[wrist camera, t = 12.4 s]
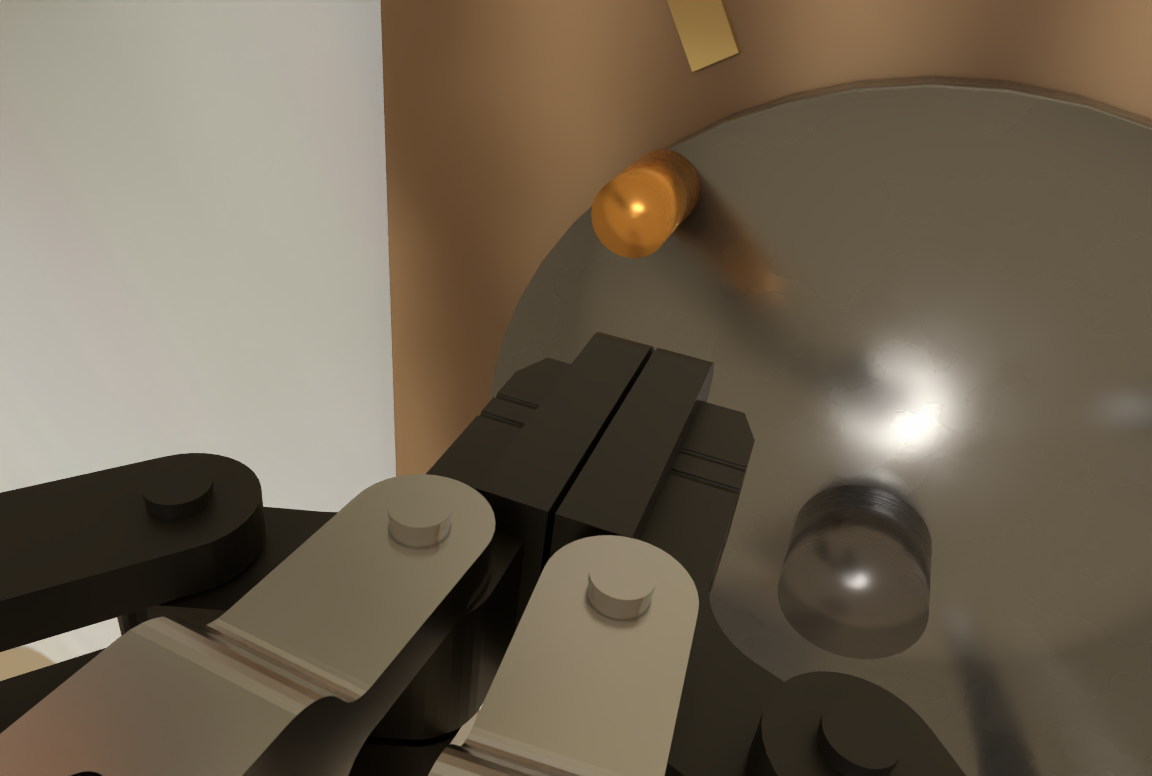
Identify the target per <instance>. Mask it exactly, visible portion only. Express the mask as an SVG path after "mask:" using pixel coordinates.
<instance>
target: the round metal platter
mask: <svg viewBox="0 0 1152 776" xmlns="http://www.w3.org/2000/svg"><path fill="white" fill-rule="evenodd" d="M597 332H602V333H605V334H609V335H613V336H616V337H620V338H624V339H627V340H631V341H635V342H638V343H642V344H646V345H650V346H653V347H654V350H655V349H656V348H661V349H665V350H669V351H672V352H676V353H680V354H684V355H687V356H691V357H695V358H698V359H702V360H706V361H709V362H713V363H714V364H715V366H714V373H713V378H712V383H711V387H710V392H709V396H708V400H707V402H708V403H711V404H715V405H718V406H722V407H726V408H729V409H733V410H736V411H740V412H743V413H745V415H746V418H747V420H748V423H749V426H750V429H751V431H752V434H753V437H754V440H755V442H754V445H753V449H752V453H751V456H750V460H749V463H748V467H747V471H746V474H745V478H744V481H743V485H742V489H741V492H740V496H739V499H738V503H737V507H736V510H735V514H734V517H733V521H732V525H731V528H730V532H729V535H728V539H727V542H726V545H725V548H724V552H723V555H722V558H721V561H720V564H719V567H718V571H717V574H716V577H715V581H714V584H713V587H712V590H711V593H710V597H709V599H710V604H711V608H712V611H713V614H714V616H715V618H716V621H717V623H718V624H719V626H720V627H721V629H722V631H723V632H724V634H725V635H726V636H727V637H728V638H729V640H730V641H731V642H732V643H733V644H734V645H735V646H736V647H737V648H738V649H739V650H740V651H741V652H742V653H743V654H745V655H746V656H747V657H749V658H750V659H751V660H753V661H754V662H755V663H757V664H758V665H760V666H761V667H763V668H764V669H766V670H767V671H769V672H770V673H772V674H773V675H775V676H776V677H778V678H779V679H781V680H782V681H784V682H785V681H787V680H788V679H790V678H792V677H794V676H797V675H801V674H804V673H809V672H817V671H827V672H838V673H844V674H849V675H852V676H856V677H859V678H862V679H865V680H867V681H869V682H872V683H874V684H876V685H879V686H880V687H882V688H884V689H886V690H887V691H889V692H891V693H892V694H894V695H895V696H897V697H898V698H899V699H901V700H902V701H904V702H905V703H906V704H907V705H909V706H910V707H911V708H912V709H913V710H914V711H915V712H916V713H917V714H918V715H919V716H920V717H921V718H922V719H923V720H924V721H925V723H926V724H927V725H928V726H929V727H930V728H931V730H932V731H933V732H934V734H935V735H936V736H937V738H938V739H939V740H940V742H941V743H942V744H943V746H944V747H945V748H946V750H947V751H948V752H949V753H950V755H951V756H952V757H953V759H954V760H955V761H956V763H957V764H958V765H959V767H960V768H961V769H962V771H963V772H964V773H965V775H966V776H1152V119H1150V118H1147V117H1144V116H1141V115H1138V114H1135V113H1132V112H1129V111H1126V110H1123V109H1120V108H1117V107H1114V106H1111V105H1108V104H1106V103H1103V102H1100V101H1097V100H1094V99H1091V98H1088V97H1085V96H1082V95H1078V94H1073V93H1067V92H1062V91H1057V90H1052V89H1047V88H1042V87H1037V86H1032V85H1027V84H1022V83H1017V82H1011V81H1006V80H991V79H976V78H960V77H944V76H919V77H904V78H888V79H873V80H859V81H854V82H849V83H844V84H839V85H833V86H828V87H823V88H818V89H813V90H808V91H803V92H798V93H793V94H790V95H787V96H784V97H781V98H778V99H775V100H772V101H769V102H766V103H763V104H760V105H757V106H754V107H751V108H748V109H745V110H742V111H739V112H736V113H733V114H731V115H729V116H727V117H725V118H723V119H721V120H718V121H716V122H714V123H712V124H710V125H708V126H706V127H704V128H702V129H700V130H698V131H696V132H694V133H692V134H690V135H688V136H686V137H684V138H682V139H680V140H678V141H676V142H675V143H673V144H672V145H671V146H669V147H668V148H666V149H657V150H653V151H650V152H648V153H646V154H644V155H643V156H641V157H640V158H639V159H638V160H636V161H635V162H634V163H632V164H631V165H630V166H629V167H627V168H626V169H625V170H624V171H622V172H621V173H620V174H619V175H617V176H616V177H615V178H613V179H612V180H611V181H610V182H608V183H607V184H606V185H605V186H604V187H602V188H601V190H600V191H599V192H598V193H597V195H596V197H595V199H594V201H593V205H592V206H591V207H590V208H589V209H588V210H587V211H586V212H585V213H584V214H583V215H581V216H580V217H579V218H578V219H577V220H576V221H575V222H574V223H573V224H572V225H571V226H570V228H569V229H568V230H567V231H566V233H565V234H564V235H563V236H562V237H561V239H560V240H559V241H558V242H557V243H556V245H555V246H554V247H553V248H552V250H551V251H550V252H549V253H548V254H547V256H546V257H545V258H544V259H543V261H542V262H541V264H540V265H539V267H538V269H537V270H536V272H535V274H534V275H533V277H532V279H531V281H530V282H529V284H528V286H527V287H526V289H525V291H524V292H523V294H522V296H521V297H520V299H519V301H518V303H517V305H516V308H515V310H514V313H513V315H512V318H511V320H510V323H509V325H508V328H507V330H506V333H505V335H504V338H503V340H502V343H501V347H500V351H499V355H498V360H497V364H496V368H495V372H494V377H493V381H492V388H491V399H492V398H493V397H494V398H496V396H497V392H498V391H499V390H500V389H501V388H502V387H503V386H504V385H505V383H506V382H507V381H508V380H509V379H510V378H511V377H512V375H513V374H514V373H515V372H516V371H518V370H521V369H523V368H525V367H527V366H530V365H532V364H534V363H536V362H538V361H541V360H543V359H545V358H547V357H548V358H551V359H555V360H558V361H562V362H565V363H569V364H572V362H573V361H574V360H575V359H576V357H577V356H578V355H579V353H580V352H581V351H582V350H583V348H584V347H585V346H586V344H587V343H588V342H589V340H590V339H591V338H592V337H593V335H594V334H595V333H597Z"/></svg>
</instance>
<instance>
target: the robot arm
mask: <svg viewBox="0 0 1152 776" xmlns="http://www.w3.org/2000/svg"><path fill="white" fill-rule="evenodd" d="M714 366H715V364H714V363H713V362H709V361H706V360H702V359H698V358H695V357H691V356H687V355H684V354H680V353H676V352H672V351H669V350H665V349H661V348H656V349H655V350H654V347H653V346H650V345H646V344H642V343H638V342H635V341H631V340H627V339H624V338H620V337H616V336H613V335H609V334H605V333H602V332H597V333H595V334H594V335H593V337H592V338H591V339H590V340H589V342H588V343H587V344H586V346H585V347H584V348H583V350H582V351H581V352H580V353H579V355H578V356H577V357H576V359H575V360H574V361H573V362H572V364H569V363H565V362H562V361H558V360H555V359H551V358H548V357H547V358H545V359H543V360H541V361H538V362H536V363H534V364H532V365H530V366H527V367H525V368H523V369H521V370H518V371H516V372H515V373H514V374H513V375H512V377H511V378H510V379H509V380H508V381H507V382H506V383H505V385H504V386H503V387H502V388H501V389H500V390H499V391H498V392H497V396H496V398H494V397H493V398H492V399H491V400H490V402H489V403H488V404H487V405H486V406H485V407H484V408H483V410H482V411H481V414H480V416H478V415H477V416H476V417H475V419H474V420H473V421H472V422H471V423H470V424H469V425H468V427H467V428H466V429H465V430H464V431H463V432H462V433H461V434H460V436H459V437H458V438H457V439H456V440H455V441H454V442H453V444H452V445H451V446H450V447H449V448H448V449H447V450H446V451H445V453H444V454H443V455H442V456H441V457H440V458H439V459H438V461H437V462H436V463H435V464H434V465H433V466H432V467H431V468H430V470H429V471H428V472H427V473H426V474H414V475H404V476H398V477H394V478H390V479H386V480H384V481H381V482H378V483H376V484H374V485H372V486H370V487H368V488H367V489H365V490H364V491H362V492H361V493H360V494H358V495H357V496H356V497H355V498H354V499H353V500H351V501H350V502H349V503H348V504H347V505H346V506H345V507H344V508H342V509H341V510H340V511H339V512H318V511H306V510H294V509H282V508H271V507H263V501H262V491H261V485H260V482H259V479H258V478H257V476H256V475H255V473H254V472H253V471H252V470H251V469H250V468H249V467H247V466H246V465H244V464H242V463H241V462H239V461H236V460H234V459H231V458H228V457H224V456H220V455H214V454H206V453H189V454H178V455H172V456H166V457H161V458H157V459H152V460H148V461H143V462H139V463H134V464H129V465H125V466H120V467H116V468H111V469H107V470H102V471H98V472H93V473H89V474H84V475H80V476H75V477H70V478H66V479H61V480H57V481H52V482H48V483H43V484H39V485H34V486H30V487H25V488H21V489H16V490H11V491H7V492H2V493H0V652H2V651H5V650H9V649H12V648H15V647H19V646H22V645H25V644H29V643H32V642H35V641H39V640H42V639H45V638H49V637H52V636H55V635H59V634H62V633H65V632H69V631H72V630H75V629H79V628H82V627H85V626H89V625H92V624H95V623H99V622H102V621H105V620H109V619H112V618H115V617H117V618H118V622H119V627H120V631H121V635H122V636H121V637H119V638H118V639H117V640H116V641H114V642H113V643H112V644H111V645H109V646H108V647H107V648H104V649H101V650H98V651H95V652H92V653H89V654H85V655H82V656H79V657H76V658H73V659H70V660H66V661H63V662H60V663H57V664H54V665H51V666H47V667H44V668H41V669H38V670H35V671H31V672H28V673H25V674H22V675H19V676H16V677H12V678H9V679H6V680H3V681H0V776H966V775H965V773H964V772H963V771H962V769H961V768H960V767H959V765H958V764H957V763H956V761H955V760H954V759H953V757H952V756H951V755H950V753H949V752H948V751H947V750H946V748H945V747H944V746H943V744H942V743H941V742H940V740H939V739H938V738H937V736H936V735H935V734H934V732H933V731H932V730H931V728H930V727H929V726H928V725H927V724H926V723H925V721H924V720H923V719H922V718H921V717H920V716H919V715H918V714H917V713H916V712H915V711H914V710H913V709H912V708H911V707H910V706H909V705H907V704H906V703H905V702H904V701H902V700H901V699H899V698H898V697H897V696H895V695H894V694H892V693H891V692H889V691H887V690H886V689H884V688H882V687H880V686H879V685H876V684H874V683H872V682H869V681H867V680H865V679H862V678H859V677H856V676H852V675H849V674H844V673H838V672H827V671H817V672H809V673H804V674H801V675H797V676H794V677H792V678H790V679H788V680H787V681H785V682H784V681H782V680H781V679H779V678H778V677H776V676H775V675H773V674H772V673H770V672H769V671H767V670H766V669H764V668H763V667H761V666H760V665H758V664H757V663H755V662H754V661H753V660H751V659H750V658H749V657H747V656H746V655H745V654H743V653H742V652H741V651H740V650H739V649H738V648H737V647H736V646H735V645H734V644H733V643H732V642H731V641H730V640H729V638H728V637H727V636H726V635H725V634H724V632H723V631H722V629H721V627H720V626H719V624H718V623H717V621H716V618H715V616H714V614H713V611H712V608H711V604H710V599H709V597H710V593H711V590H712V587H713V584H714V581H715V577H716V574H717V571H718V567H719V564H720V561H721V558H722V555H723V552H724V548H725V545H726V542H727V539H728V535H729V532H730V528H731V525H732V521H733V517H734V514H735V510H736V507H737V503H738V499H739V496H740V492H741V489H742V485H743V481H744V478H745V474H746V471H747V467H748V463H749V460H750V456H751V453H752V449H753V445H754V442H755V440H754V437H753V434H752V431H751V429H750V426H749V423H748V420H747V418H746V415H745V413H743V412H740V411H736V410H733V409H729V408H726V407H722V406H718V405H715V404H711V403H708V402H707V400H708V396H709V392H710V387H711V383H712V378H713V373H714ZM482 703H483V704H482ZM481 705H482V707H481ZM480 707H481V709H480ZM479 709H480V711H479Z"/></svg>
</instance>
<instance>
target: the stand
mask: <svg viewBox="0 0 1152 776" xmlns="http://www.w3.org/2000/svg"><path fill="white" fill-rule="evenodd" d="M381 23H382V53H383V84H384V114H385V144H386V175H387V205H388V236H389V266H390V297H391V327H392V358H393V388H394V419H395V449H396V477H398V476H404V475H414V474H426V473H427V472H428V471H429V470H430V468H431V467H432V466H433V465H434V464H435V463H436V462H437V461H438V459H439V458H440V457H441V456H442V455H443V454H444V453H445V451H446V450H447V449H448V448H449V447H450V446H451V445H452V444H453V442H454V441H455V440H456V439H457V438H458V437H459V436H460V434H461V433H462V432H463V431H464V430H465V429H466V428H467V427H468V425H469V424H470V423H471V422H472V421H473V420H474V419H475V417H476V416H477V415H478V416H480V414H481V411H482V410H483V408H484V407H485V406H486V405H487V404H488V403H489V402H490V400H491V388H492V381H493V377H494V372H495V368H496V364H497V360H498V355H499V351H500V347H501V343H502V340H503V338H504V335H505V333H506V330H507V328H508V325H509V323H510V320H511V318H512V315H513V313H514V310H515V308H516V305H517V303H518V301H519V299H520V297H521V296H522V294H523V292H524V291H525V289H526V287H527V286H528V284H529V282H530V281H531V279H532V277H533V275H534V274H535V272H536V270H537V269H538V267H539V265H540V264H541V262H542V261H543V259H544V258H545V257H546V256H547V254H548V253H549V252H550V251H551V250H552V248H553V247H554V246H555V245H556V243H557V242H558V241H559V240H560V239H561V237H562V236H563V235H564V234H565V233H566V231H567V230H568V229H569V228H570V226H571V225H572V224H573V223H574V222H575V221H576V220H577V219H578V218H579V217H580V216H581V215H583V214H584V213H585V212H586V211H587V210H588V209H589V208H590V207H591V206H592V205H593V201H594V199H595V197H596V195H597V193H598V192H599V191H600V190H601V188H602V187H604V186H605V185H606V184H607V183H608V182H610V181H611V180H612V179H613V178H615V177H616V176H617V175H619V174H620V173H621V172H622V171H624V170H625V169H626V168H627V167H629V166H630V165H631V164H632V163H634V162H635V161H636V160H638V159H639V158H640V157H641V156H643V155H644V154H646V153H648V152H650V151H653V150H657V149H666V148H668V147H669V146H671V145H672V144H673V143H675V142H676V141H678V140H680V139H682V138H684V137H686V136H688V135H690V134H692V133H694V132H696V131H698V130H700V129H702V128H704V127H706V126H708V125H710V124H712V123H714V122H716V121H718V120H721V119H723V118H725V117H727V116H729V115H731V114H733V113H736V112H739V111H742V110H745V109H748V108H751V107H754V106H757V105H760V104H763V103H766V102H769V101H772V100H775V99H778V98H781V97H784V96H787V95H790V94H793V93H798V92H803V91H808V90H813V89H818V88H823V87H828V86H833V85H839V84H844V83H849V82H854V81H859V80H873V79H888V78H904V77H919V76H944V77H960V78H976V79H991V80H1006V81H1011V82H1017V83H1022V84H1027V85H1032V86H1037V87H1042V88H1047V89H1052V90H1057V91H1062V92H1067V93H1073V94H1078V95H1082V96H1085V97H1088V98H1091V99H1094V100H1097V101H1100V102H1103V103H1106V104H1108V105H1111V106H1114V107H1117V108H1120V109H1123V110H1126V111H1129V112H1132V113H1135V114H1138V115H1141V116H1144V117H1147V118H1150V119H1152V0H381Z"/></svg>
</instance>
